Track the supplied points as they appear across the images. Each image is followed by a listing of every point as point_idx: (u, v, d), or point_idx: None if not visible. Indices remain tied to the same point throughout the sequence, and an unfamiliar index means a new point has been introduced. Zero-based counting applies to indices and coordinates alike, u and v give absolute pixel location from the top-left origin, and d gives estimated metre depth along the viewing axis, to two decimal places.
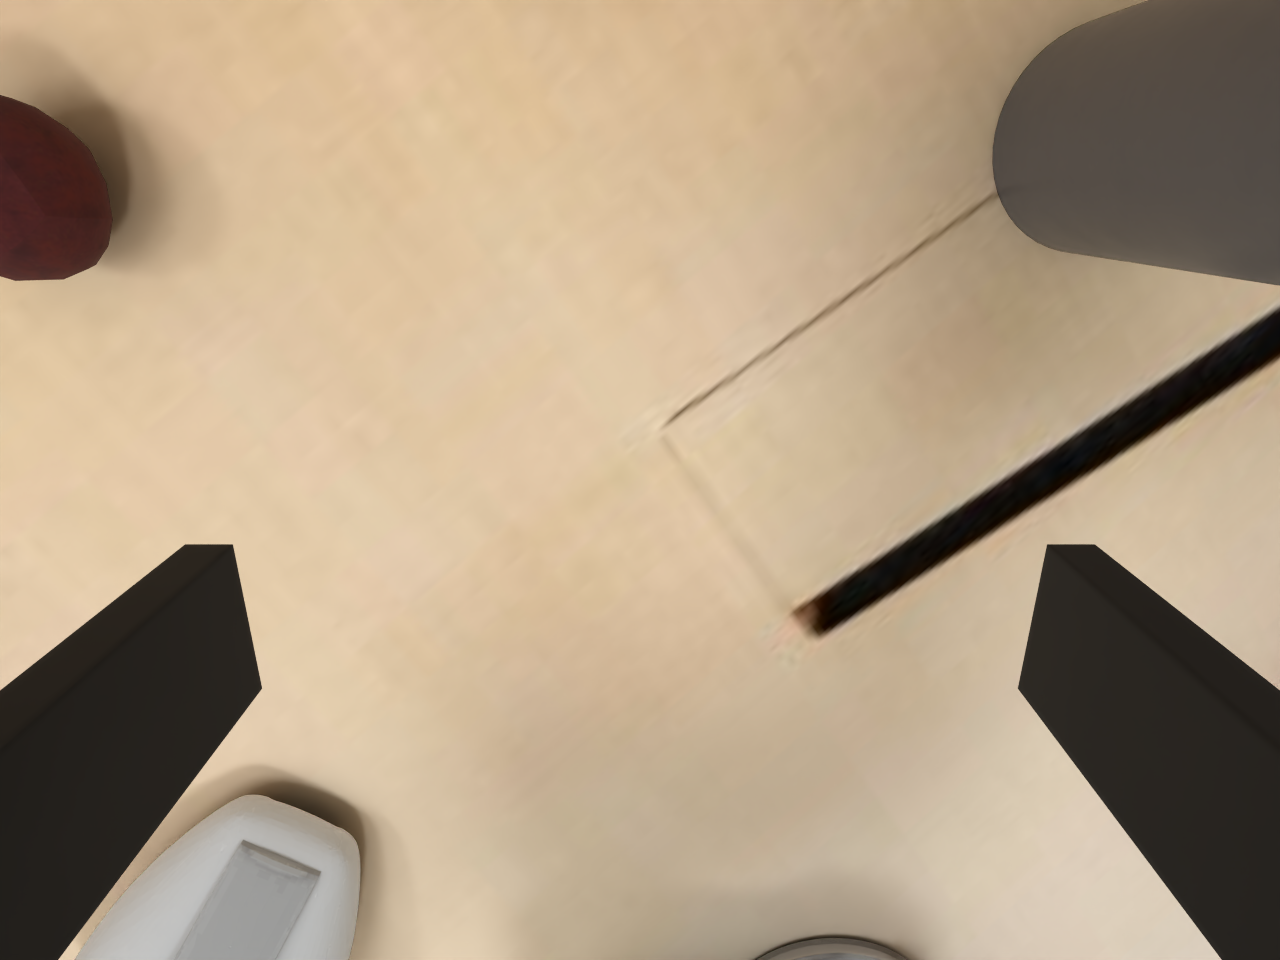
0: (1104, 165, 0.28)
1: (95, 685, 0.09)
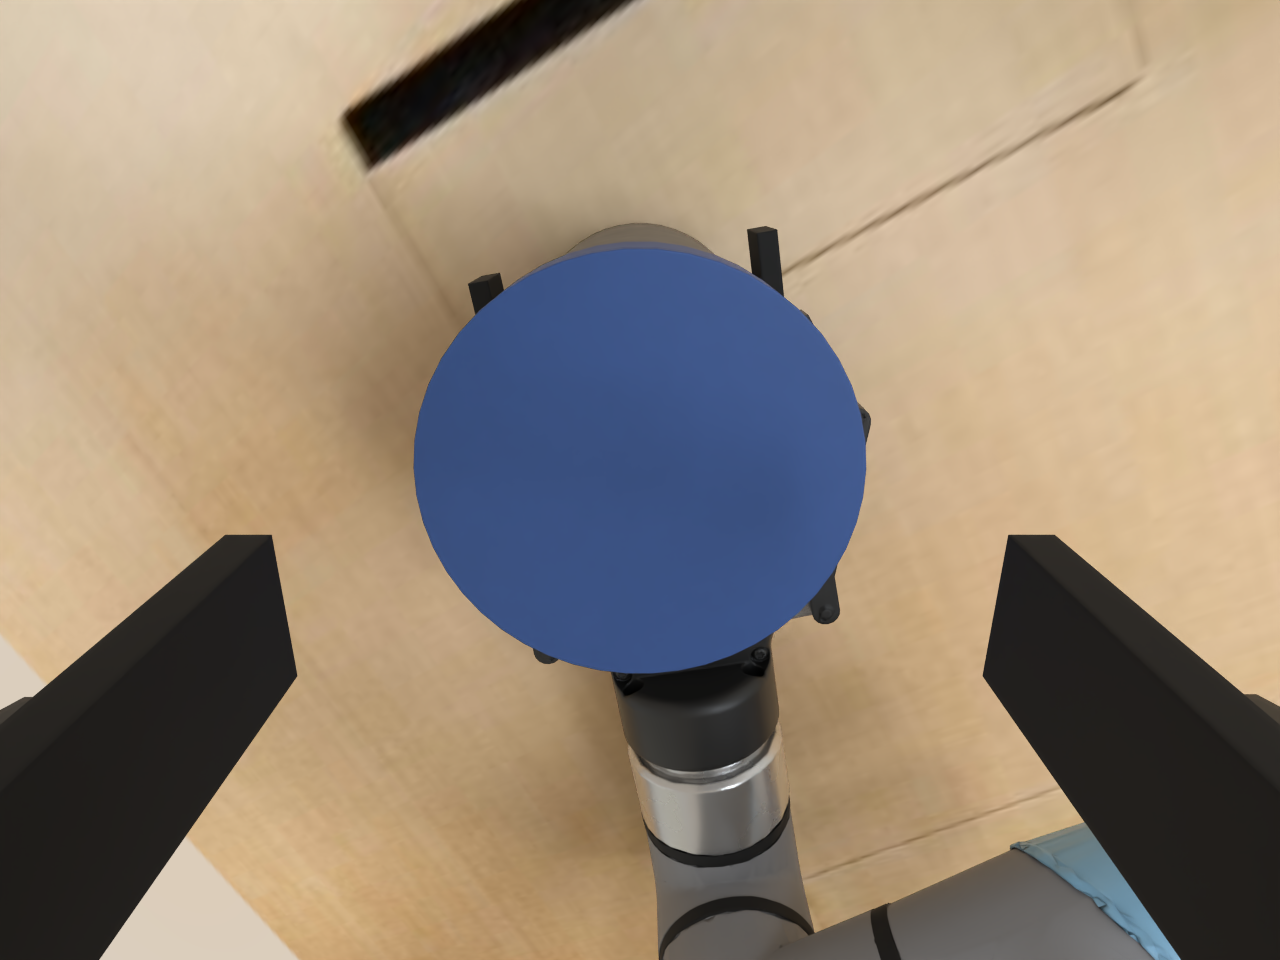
0: None
1: (151, 667, 0.10)
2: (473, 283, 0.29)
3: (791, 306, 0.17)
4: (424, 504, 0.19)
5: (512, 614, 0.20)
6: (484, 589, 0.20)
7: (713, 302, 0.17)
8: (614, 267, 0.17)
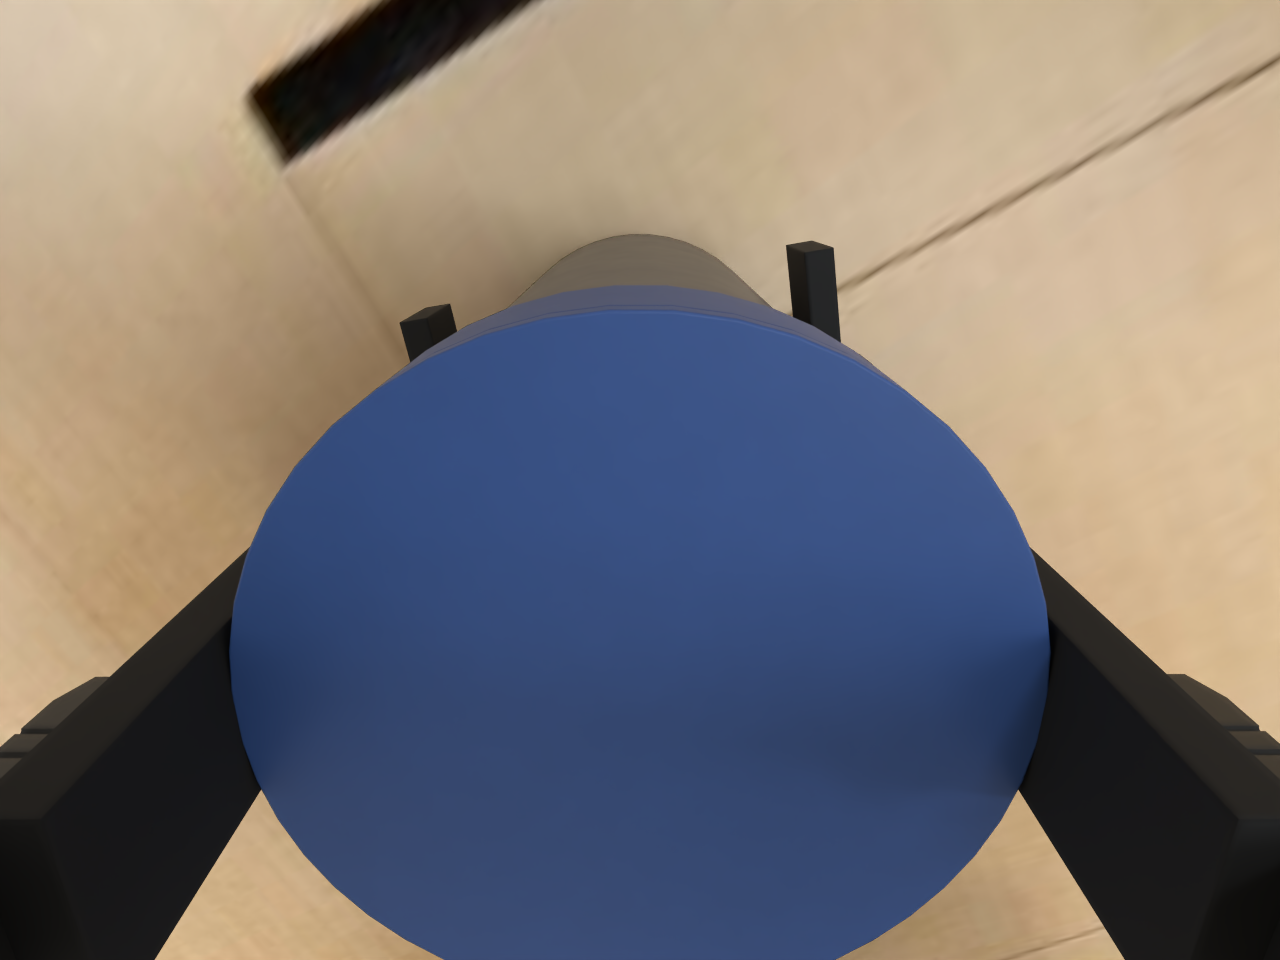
0: None
1: (218, 648, 0.10)
2: (407, 322, 0.21)
3: (931, 418, 0.09)
4: (256, 752, 0.11)
5: (422, 918, 0.12)
6: (371, 882, 0.11)
7: (781, 410, 0.09)
8: (590, 345, 0.09)
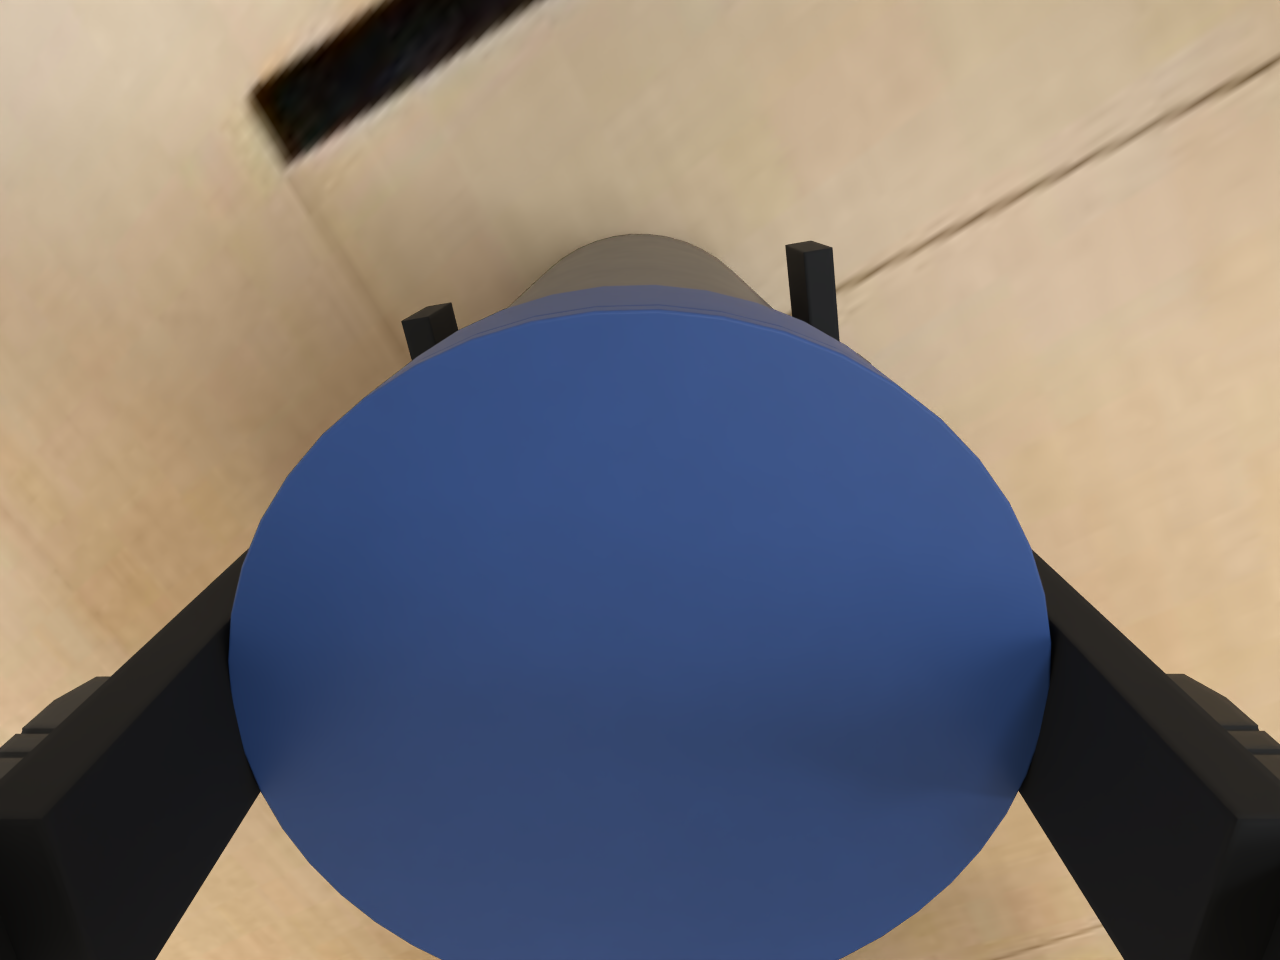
0: None
1: (219, 648, 0.10)
2: (409, 320, 0.21)
3: (399, 380, 0.09)
4: None
5: (783, 954, 0.12)
6: None
7: (356, 509, 0.09)
8: (257, 637, 0.10)
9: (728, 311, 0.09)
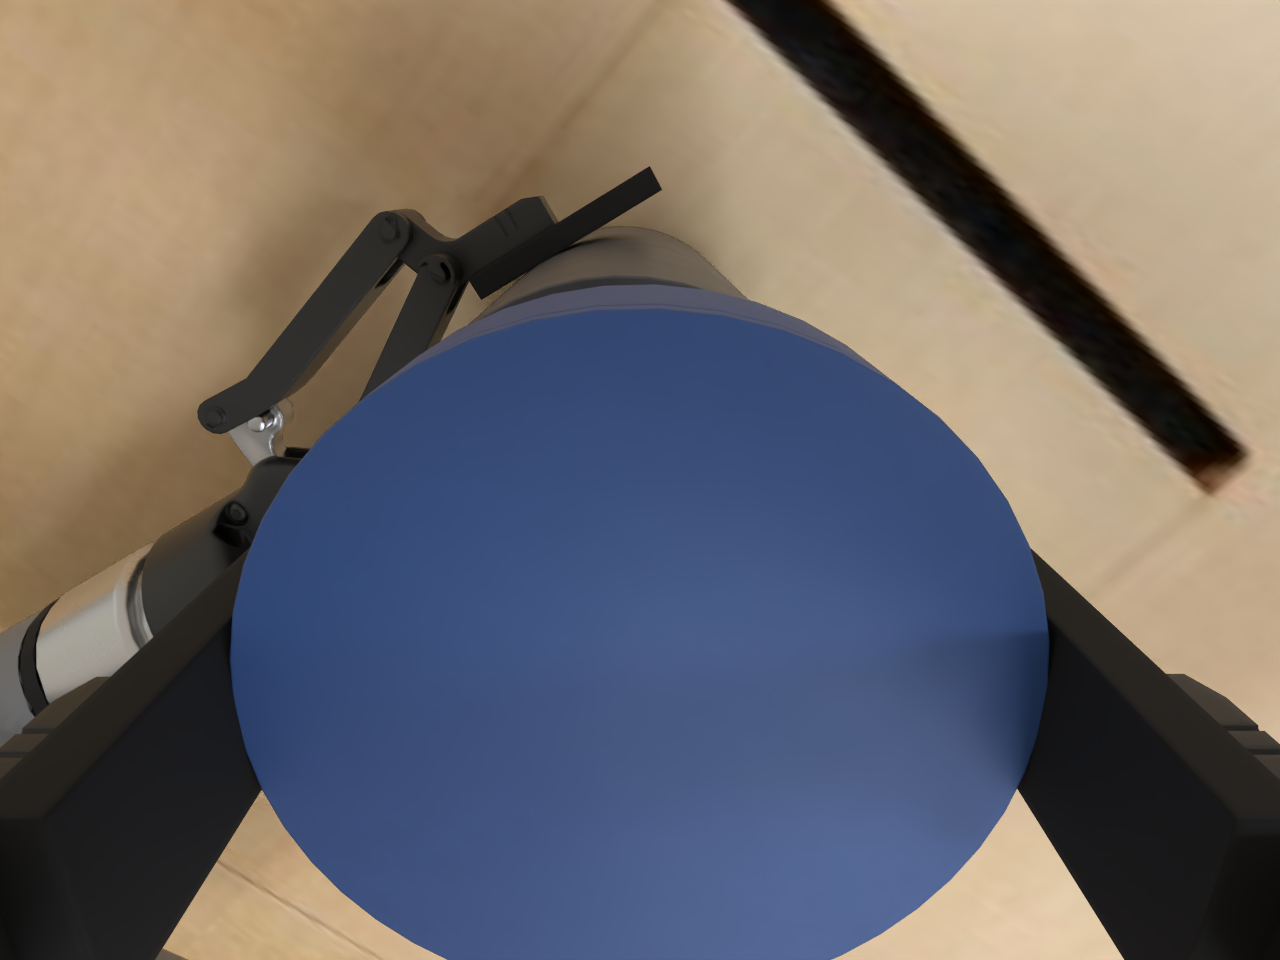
0: None
1: (219, 648, 0.10)
2: (651, 172, 0.23)
3: (400, 379, 0.09)
4: None
5: (783, 951, 0.12)
6: None
7: (357, 508, 0.09)
8: (258, 636, 0.10)
9: (728, 310, 0.09)
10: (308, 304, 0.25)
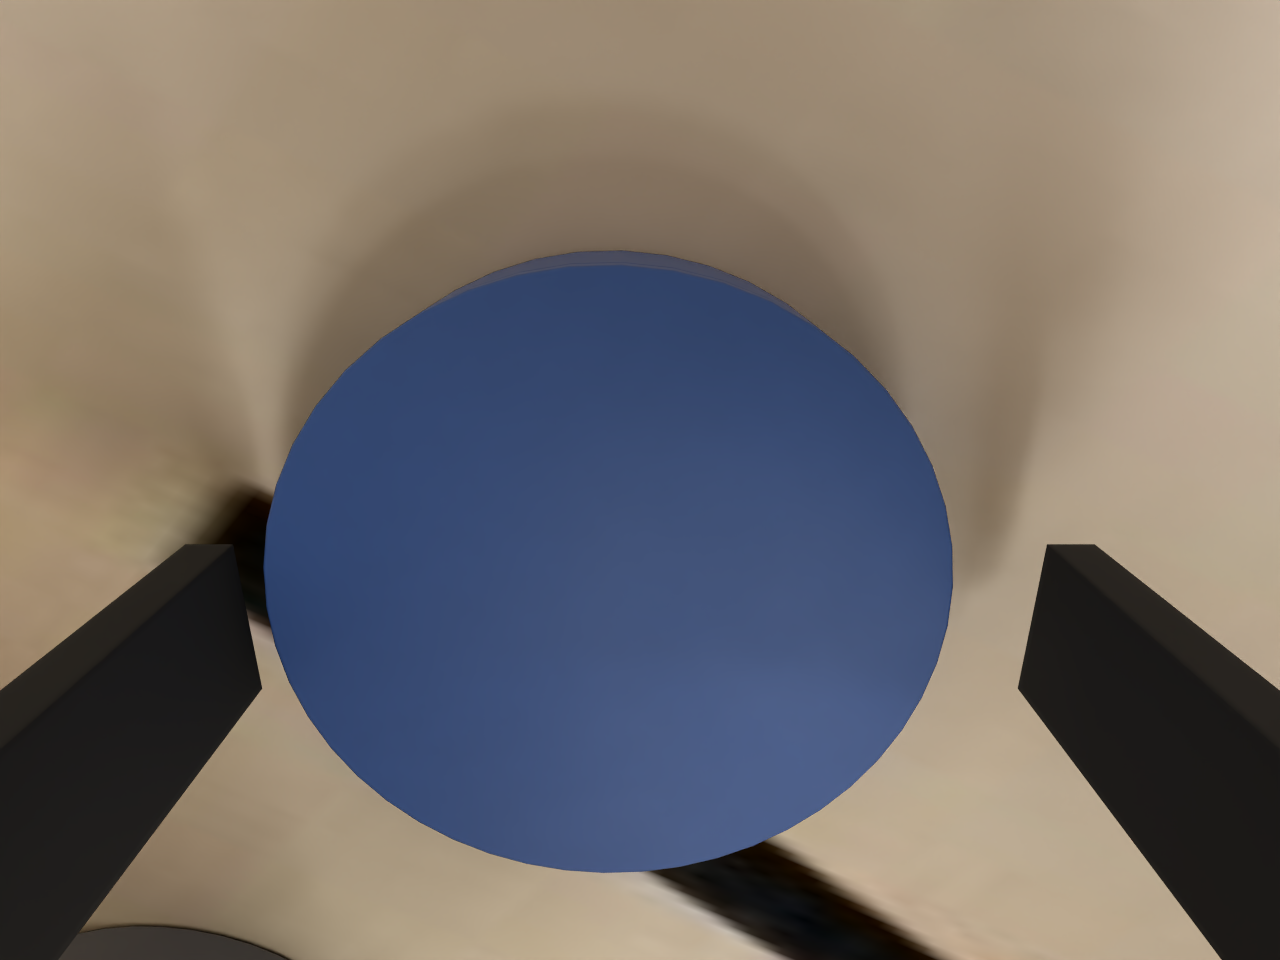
0: None
1: (95, 685, 0.09)
2: None
3: (408, 324, 0.11)
4: (541, 859, 0.14)
5: (737, 827, 0.14)
6: (685, 843, 0.14)
7: (372, 434, 0.11)
8: (288, 546, 0.12)
9: (679, 268, 0.11)
10: None
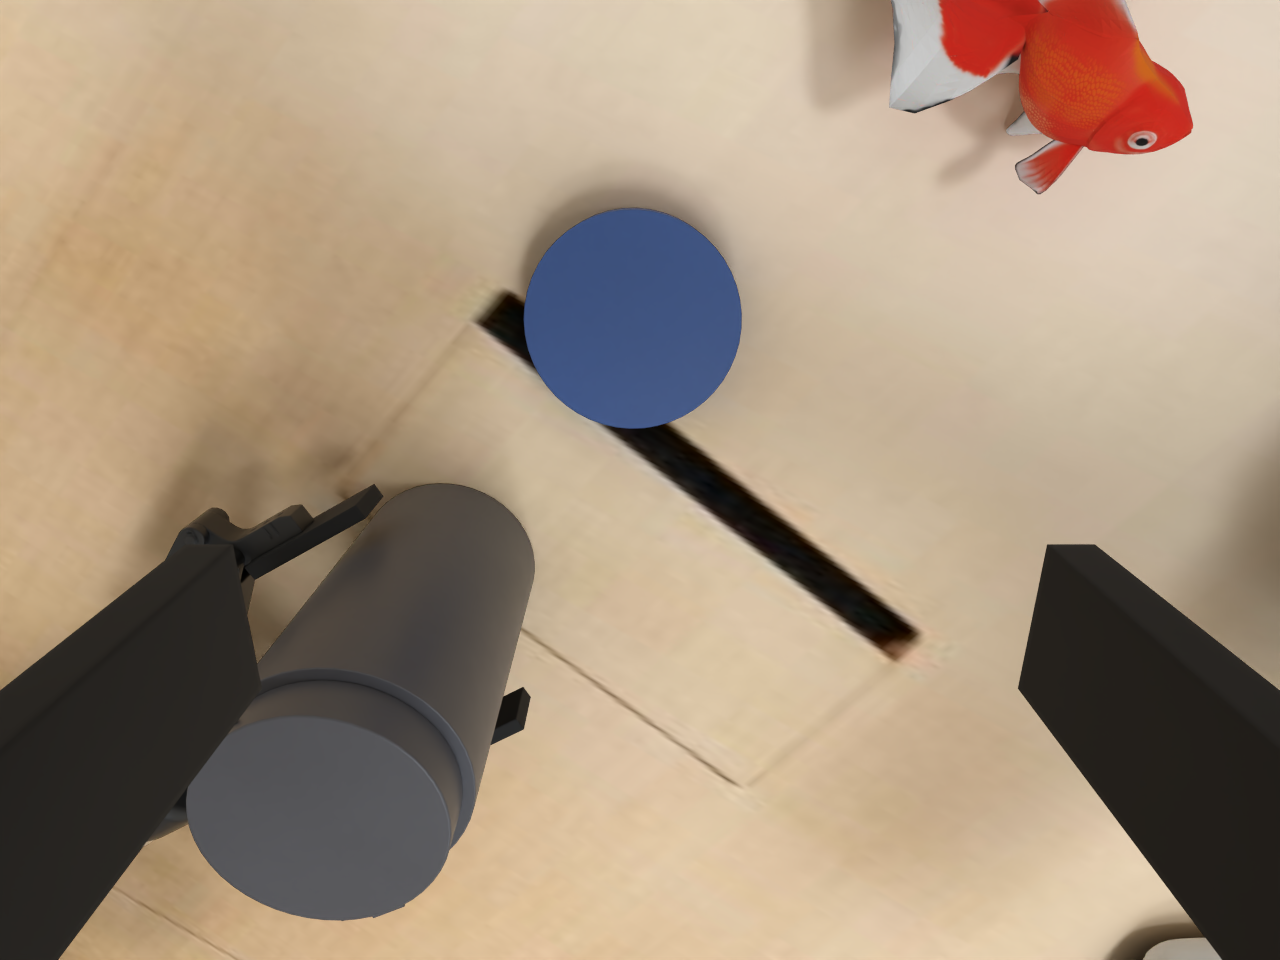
0: None
1: (95, 685, 0.09)
2: (358, 507, 0.36)
3: (575, 226, 0.37)
4: (607, 422, 0.41)
5: (675, 408, 0.40)
6: (658, 415, 0.40)
7: (562, 261, 0.38)
8: (533, 298, 0.38)
9: (653, 211, 0.37)
10: None
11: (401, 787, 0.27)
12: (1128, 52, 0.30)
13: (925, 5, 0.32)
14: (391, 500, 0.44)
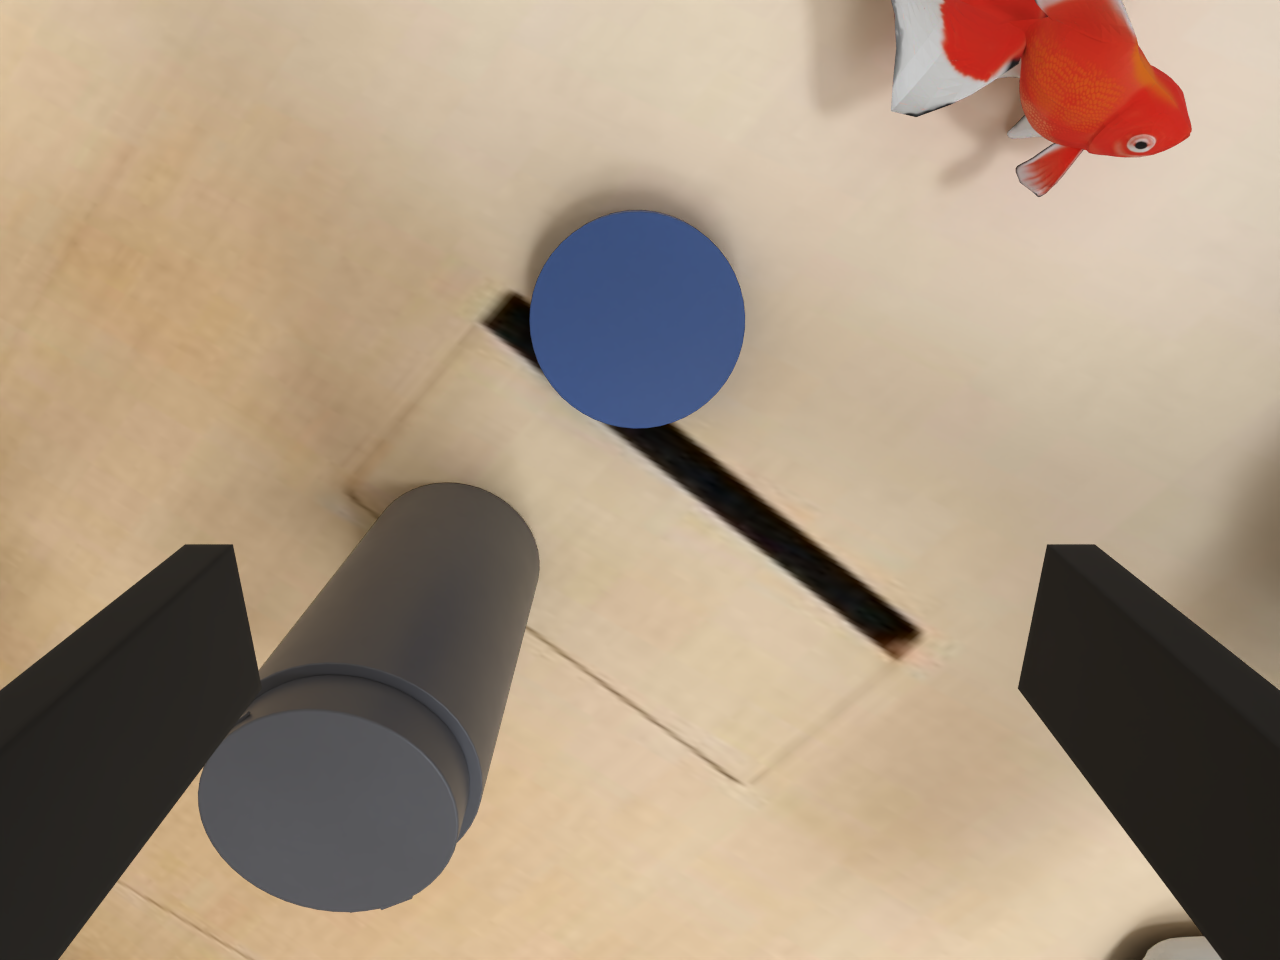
0: None
1: (95, 685, 0.09)
2: None
3: (581, 228, 0.37)
4: (612, 422, 0.41)
5: (679, 408, 0.41)
6: (662, 415, 0.41)
7: (567, 262, 0.38)
8: (539, 299, 0.39)
9: (658, 213, 0.38)
10: None
11: (410, 780, 0.27)
12: (1127, 56, 0.31)
13: (926, 11, 0.32)
14: (398, 499, 0.44)
